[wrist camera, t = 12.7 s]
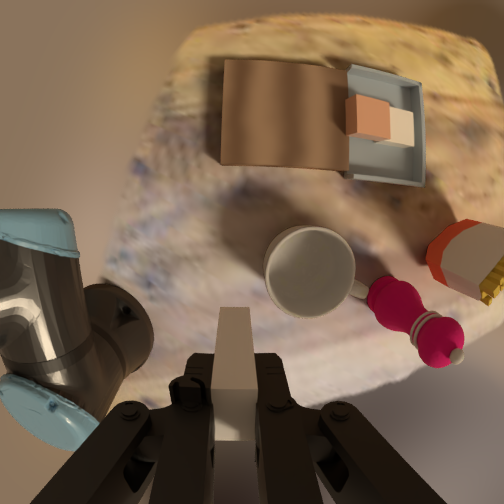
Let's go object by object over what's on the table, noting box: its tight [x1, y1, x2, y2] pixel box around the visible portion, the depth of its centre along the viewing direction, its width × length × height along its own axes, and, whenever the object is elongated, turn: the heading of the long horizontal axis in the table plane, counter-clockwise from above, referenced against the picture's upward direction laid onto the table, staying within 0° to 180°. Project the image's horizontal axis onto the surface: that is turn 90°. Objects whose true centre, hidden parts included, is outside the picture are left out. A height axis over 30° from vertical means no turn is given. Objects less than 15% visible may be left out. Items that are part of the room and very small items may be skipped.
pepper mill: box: [367, 276, 464, 368], centre depth 32 cm, size 7×7×20 cm
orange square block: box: [345, 94, 391, 141], centre depth 32 cm, size 5×5×3 cm
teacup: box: [263, 225, 369, 319], centre depth 36 cm, size 14×11×8 cm
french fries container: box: [426, 219, 504, 306], centre depth 32 cm, size 5×11×18 cm, turn 128°
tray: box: [344, 64, 426, 188], centre depth 34 cm, size 12×16×4 cm
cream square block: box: [374, 106, 414, 148], centre depth 34 cm, size 5×5×3 cm
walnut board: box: [221, 60, 349, 171], centre depth 34 cm, size 16×14×3 cm
